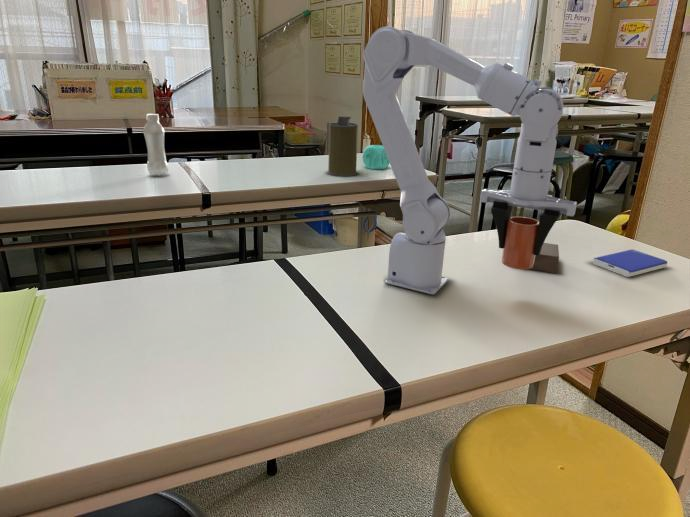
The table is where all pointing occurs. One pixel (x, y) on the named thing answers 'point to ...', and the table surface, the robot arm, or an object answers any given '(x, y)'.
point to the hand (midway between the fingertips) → (519, 250)
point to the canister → (342, 147)
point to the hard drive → (630, 262)
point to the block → (547, 258)
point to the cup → (520, 242)
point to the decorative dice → (375, 157)
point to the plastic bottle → (155, 146)
